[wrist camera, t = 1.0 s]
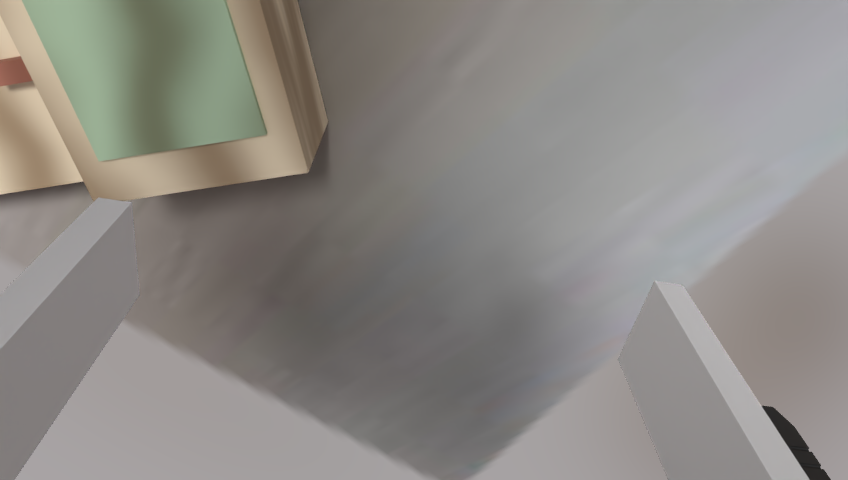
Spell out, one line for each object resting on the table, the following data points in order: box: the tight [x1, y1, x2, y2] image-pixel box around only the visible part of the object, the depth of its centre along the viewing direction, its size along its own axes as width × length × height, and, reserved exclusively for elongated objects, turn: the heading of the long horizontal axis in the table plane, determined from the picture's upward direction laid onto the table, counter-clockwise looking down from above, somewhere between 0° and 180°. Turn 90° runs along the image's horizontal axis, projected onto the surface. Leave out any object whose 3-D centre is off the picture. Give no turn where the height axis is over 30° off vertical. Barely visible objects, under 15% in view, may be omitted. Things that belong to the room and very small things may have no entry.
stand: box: [0, 0, 328, 201], centre depth 32 cm, size 24×14×8 cm, turn 99°
